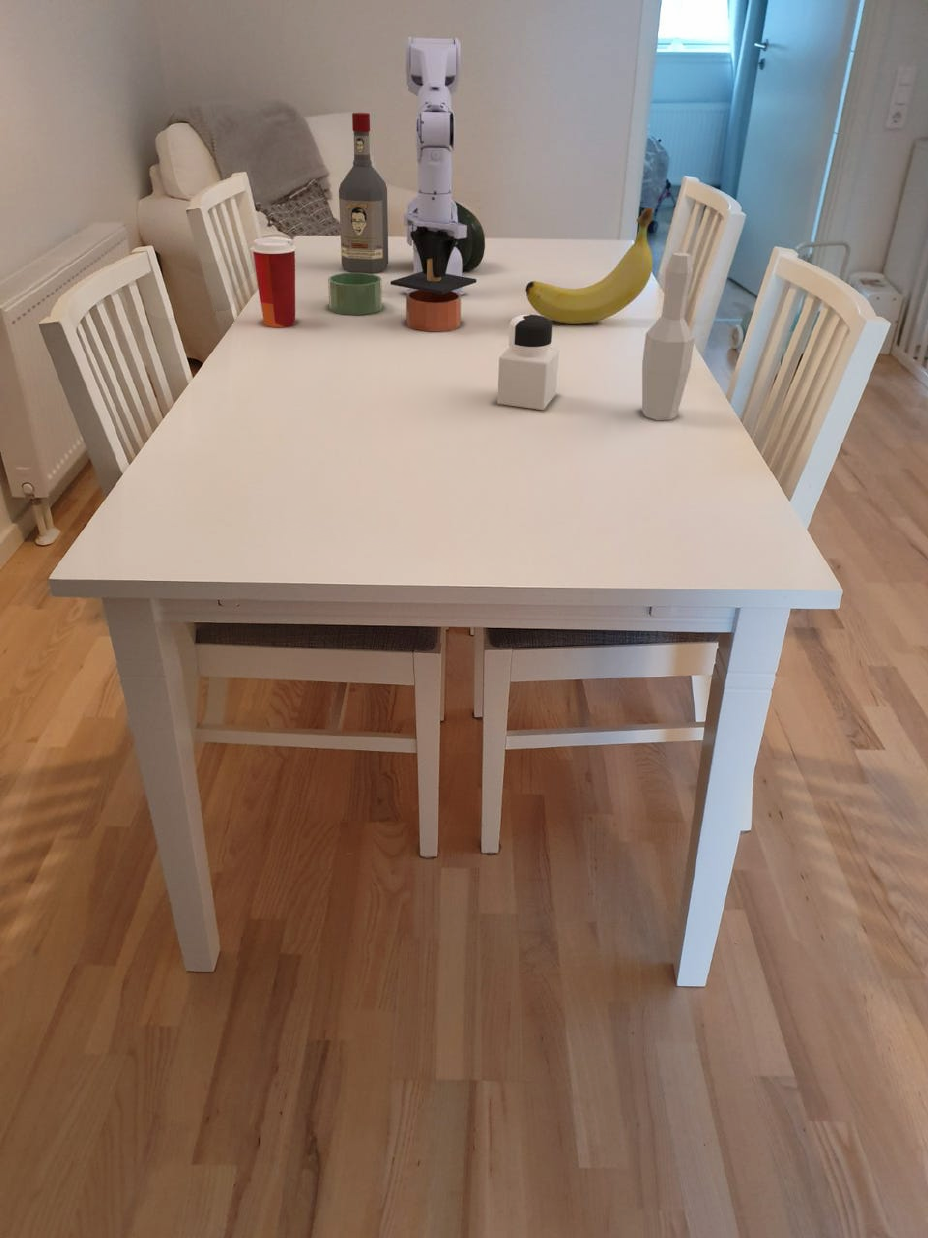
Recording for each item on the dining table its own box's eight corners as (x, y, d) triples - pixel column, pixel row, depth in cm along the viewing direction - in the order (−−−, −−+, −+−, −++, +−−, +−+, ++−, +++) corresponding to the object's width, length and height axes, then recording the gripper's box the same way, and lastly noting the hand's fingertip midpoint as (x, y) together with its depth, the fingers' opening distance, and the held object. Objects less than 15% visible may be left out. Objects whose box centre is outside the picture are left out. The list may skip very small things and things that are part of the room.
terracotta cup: (436, 313, 180) (437, 286, 177) (471, 325, 174) (472, 297, 171) (395, 322, 175) (395, 293, 172) (430, 334, 168) (430, 305, 166)
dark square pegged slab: (426, 273, 177) (426, 250, 175) (476, 282, 172) (477, 259, 170) (390, 284, 169) (390, 260, 167) (441, 294, 164) (442, 270, 162)
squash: (485, 253, 200) (484, 187, 202) (413, 253, 200) (414, 188, 203) (485, 287, 214) (484, 225, 216) (418, 287, 214) (418, 226, 217)
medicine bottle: (556, 395, 143) (562, 314, 137) (543, 411, 138) (549, 327, 131) (510, 389, 145) (514, 308, 139) (496, 404, 140) (499, 321, 133)
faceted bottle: (654, 424, 134) (677, 261, 123) (628, 410, 139) (647, 251, 127) (690, 418, 137) (716, 257, 125) (663, 404, 142) (685, 247, 130)
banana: (525, 326, 174) (532, 208, 163) (521, 317, 179) (528, 202, 168) (647, 327, 176) (662, 210, 165) (640, 318, 181) (654, 204, 170)
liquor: (349, 262, 214) (344, 110, 198) (390, 264, 213) (387, 112, 197) (339, 271, 206) (333, 114, 190) (381, 274, 205) (378, 116, 189)
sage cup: (361, 298, 188) (360, 269, 185) (392, 309, 182) (391, 279, 179) (319, 306, 182) (317, 277, 179) (350, 317, 176) (348, 287, 173)
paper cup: (305, 318, 175) (300, 237, 168) (295, 329, 169) (289, 246, 161) (263, 315, 176) (256, 235, 168) (251, 327, 169) (244, 244, 162)
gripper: (389, 187, 165) (390, 269, 172) (444, 199, 156) (443, 285, 163) (421, 184, 169) (421, 264, 176) (476, 195, 160) (474, 280, 167)
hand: (434, 274), depth 170 cm, fingers closed on dark square pegged slab, 2 cm apart
